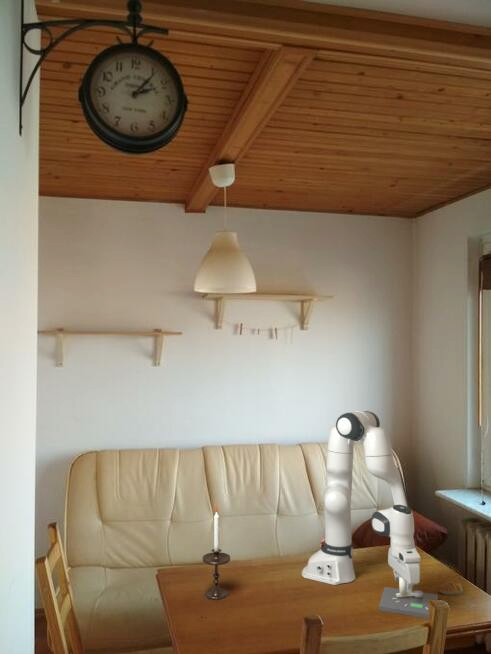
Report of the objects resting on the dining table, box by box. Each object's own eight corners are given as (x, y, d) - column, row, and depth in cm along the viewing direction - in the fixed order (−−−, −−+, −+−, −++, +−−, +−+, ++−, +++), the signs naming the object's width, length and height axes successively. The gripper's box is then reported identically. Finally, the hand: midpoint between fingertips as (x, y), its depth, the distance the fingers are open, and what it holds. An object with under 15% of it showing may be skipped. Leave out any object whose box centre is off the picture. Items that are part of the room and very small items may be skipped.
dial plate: (378, 610, 200) (378, 605, 200) (384, 590, 217) (384, 586, 217) (436, 619, 193) (436, 614, 193) (437, 598, 210) (437, 594, 210)
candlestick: (196, 595, 213) (197, 504, 215) (216, 586, 221) (216, 498, 223) (215, 603, 205) (216, 509, 207) (235, 594, 213) (236, 503, 215)
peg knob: (420, 594, 210) (419, 574, 210) (424, 598, 206) (424, 578, 207) (394, 595, 208) (394, 576, 209) (399, 599, 205) (398, 579, 205)
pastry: (445, 597, 211) (445, 587, 212) (433, 590, 218) (433, 581, 218) (464, 593, 215) (464, 584, 215) (452, 587, 221) (452, 577, 221)
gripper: (383, 541, 218) (384, 576, 217) (406, 560, 197) (407, 599, 197) (398, 540, 219) (399, 575, 218) (422, 559, 198) (423, 597, 198)
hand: (403, 586), depth 207 cm, fingers open, 8 cm apart
